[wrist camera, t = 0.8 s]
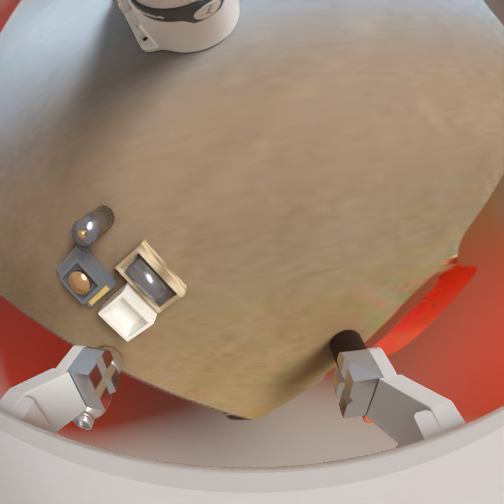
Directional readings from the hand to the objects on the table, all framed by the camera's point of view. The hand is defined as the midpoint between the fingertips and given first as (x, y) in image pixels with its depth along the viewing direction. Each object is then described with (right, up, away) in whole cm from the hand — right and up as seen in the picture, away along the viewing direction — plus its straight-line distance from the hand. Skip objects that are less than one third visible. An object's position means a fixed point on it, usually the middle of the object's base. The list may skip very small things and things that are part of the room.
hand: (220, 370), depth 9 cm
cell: (-24, +10, +35) cm, 43 cm away
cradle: (-30, 0, +38) cm, 49 cm away
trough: (-16, 0, +39) cm, 42 cm away
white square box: (-21, -6, +41) cm, 47 cm away
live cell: (-16, 0, +39) cm, 42 cm away
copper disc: (-29, -1, +36) cm, 46 cm away
